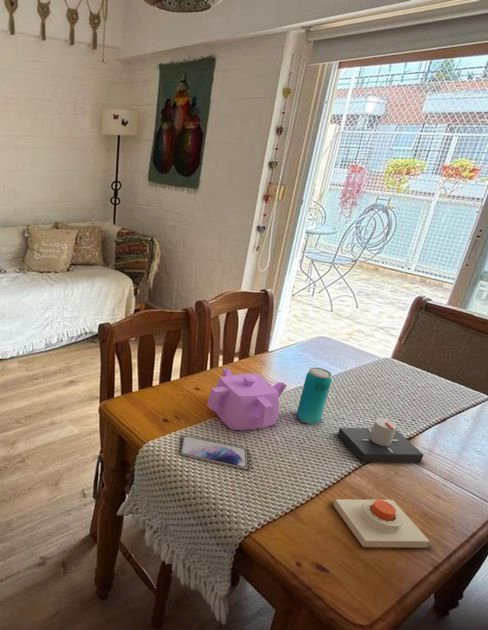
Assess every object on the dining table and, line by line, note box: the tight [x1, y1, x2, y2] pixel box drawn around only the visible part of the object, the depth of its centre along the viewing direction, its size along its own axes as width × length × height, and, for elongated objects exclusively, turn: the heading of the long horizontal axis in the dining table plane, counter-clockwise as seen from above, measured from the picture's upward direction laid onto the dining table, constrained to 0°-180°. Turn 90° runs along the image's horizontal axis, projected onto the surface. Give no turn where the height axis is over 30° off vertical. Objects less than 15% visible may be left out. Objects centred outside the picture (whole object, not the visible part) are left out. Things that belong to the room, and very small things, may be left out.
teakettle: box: [206, 368, 288, 431], centre depth 118 cm, size 17×17×12 cm
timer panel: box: [337, 427, 425, 464], centre depth 107 cm, size 14×10×3 cm
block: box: [333, 498, 430, 549], centre depth 86 cm, size 12×10×4 cm
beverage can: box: [296, 367, 332, 425], centre depth 116 cm, size 6×6×15 cm
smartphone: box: [180, 435, 248, 470], centre depth 106 cm, size 7×1×15 cm
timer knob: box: [370, 417, 398, 446], centre depth 106 cm, size 4×4×5 cm
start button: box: [371, 499, 396, 521], centre depth 85 cm, size 4×4×2 cm
